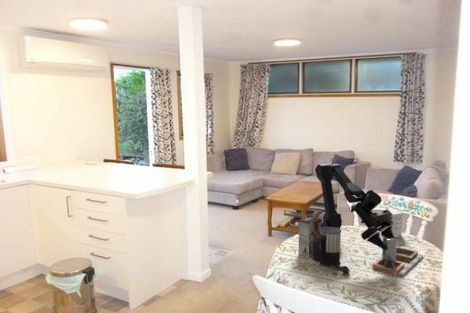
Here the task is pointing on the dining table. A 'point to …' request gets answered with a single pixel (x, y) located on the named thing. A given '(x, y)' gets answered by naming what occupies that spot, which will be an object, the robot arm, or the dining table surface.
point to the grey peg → (389, 252)
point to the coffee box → (308, 235)
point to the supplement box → (396, 223)
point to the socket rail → (401, 268)
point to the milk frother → (328, 248)
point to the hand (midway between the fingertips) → (391, 246)
